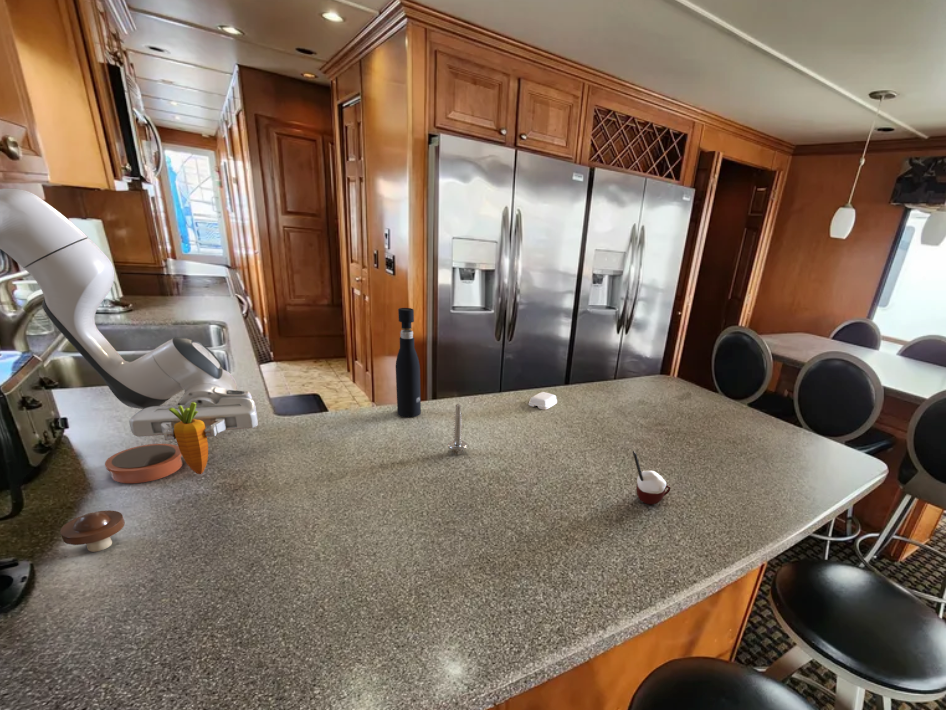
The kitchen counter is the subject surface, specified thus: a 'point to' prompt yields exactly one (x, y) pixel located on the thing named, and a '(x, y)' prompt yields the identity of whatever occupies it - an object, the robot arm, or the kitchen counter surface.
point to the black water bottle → (407, 369)
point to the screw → (457, 434)
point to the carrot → (191, 438)
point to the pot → (144, 463)
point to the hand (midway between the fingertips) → (190, 434)
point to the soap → (543, 400)
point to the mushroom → (93, 529)
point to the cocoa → (650, 485)
